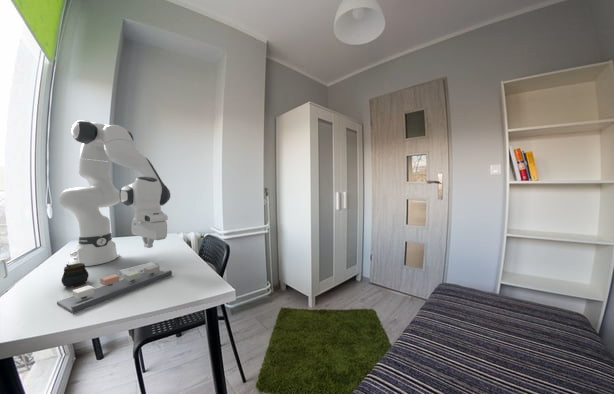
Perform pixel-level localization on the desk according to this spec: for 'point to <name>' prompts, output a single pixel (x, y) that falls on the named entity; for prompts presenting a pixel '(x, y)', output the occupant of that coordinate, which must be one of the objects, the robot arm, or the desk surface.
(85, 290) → the key
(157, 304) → the desk surface
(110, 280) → the key
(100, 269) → the desk surface
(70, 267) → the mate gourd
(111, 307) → the desk surface
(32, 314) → the desk surface
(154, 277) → the base
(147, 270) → the key
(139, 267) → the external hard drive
